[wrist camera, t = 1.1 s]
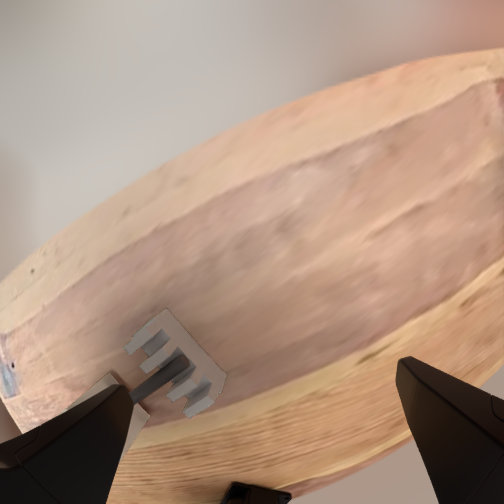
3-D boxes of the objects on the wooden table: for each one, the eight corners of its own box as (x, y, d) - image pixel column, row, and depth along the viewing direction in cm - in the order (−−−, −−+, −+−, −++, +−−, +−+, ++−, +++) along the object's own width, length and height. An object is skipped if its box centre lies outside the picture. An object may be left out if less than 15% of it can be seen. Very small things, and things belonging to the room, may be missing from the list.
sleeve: (109, 371, 21) (66, 408, 14) (150, 416, 21) (119, 462, 14) (87, 390, 21) (47, 424, 15) (125, 431, 21) (94, 473, 15)
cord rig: (166, 307, 21) (140, 326, 16) (226, 374, 21) (216, 407, 16) (58, 404, 23) (33, 424, 18) (101, 451, 23) (82, 476, 18)
